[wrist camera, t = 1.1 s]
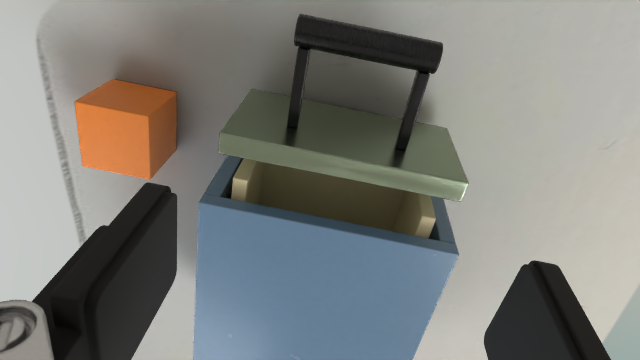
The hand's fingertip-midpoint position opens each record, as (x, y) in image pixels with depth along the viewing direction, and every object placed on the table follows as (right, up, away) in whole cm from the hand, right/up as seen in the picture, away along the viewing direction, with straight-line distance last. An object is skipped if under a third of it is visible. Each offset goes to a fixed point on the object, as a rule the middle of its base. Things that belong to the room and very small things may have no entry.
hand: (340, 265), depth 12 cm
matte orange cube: (-13, +7, +19) cm, 23 cm away
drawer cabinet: (-1, -2, +23) cm, 23 cm away
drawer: (+1, +3, +18) cm, 18 cm away
